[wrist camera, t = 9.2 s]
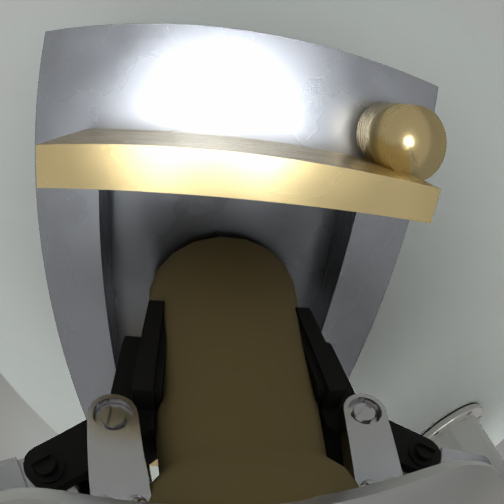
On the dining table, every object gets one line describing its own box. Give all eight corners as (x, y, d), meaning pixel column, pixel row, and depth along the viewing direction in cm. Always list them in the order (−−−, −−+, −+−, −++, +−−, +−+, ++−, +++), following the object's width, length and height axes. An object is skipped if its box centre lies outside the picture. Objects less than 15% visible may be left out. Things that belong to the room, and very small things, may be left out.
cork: (289, 352, 15) (363, 578, 5) (160, 360, 14) (153, 601, 4) (300, 233, 12) (475, 527, 2) (137, 241, 11) (48, 580, 2)
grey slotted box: (297, 372, 23) (333, 481, 15) (107, 365, 21) (83, 481, 12) (368, 85, 15) (505, 93, 6) (98, 51, 12) (-12, 13, 4)
